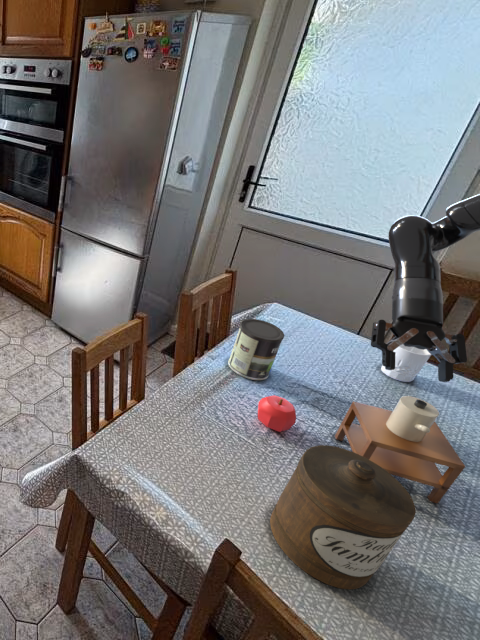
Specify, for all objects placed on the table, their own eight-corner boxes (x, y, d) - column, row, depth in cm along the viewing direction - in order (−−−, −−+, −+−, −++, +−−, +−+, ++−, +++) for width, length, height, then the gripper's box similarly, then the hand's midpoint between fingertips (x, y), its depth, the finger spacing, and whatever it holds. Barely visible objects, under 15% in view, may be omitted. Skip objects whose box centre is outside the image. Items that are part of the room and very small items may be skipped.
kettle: (381, 416, 90) (397, 389, 86) (415, 425, 88) (433, 397, 84) (396, 444, 83) (414, 416, 80) (433, 455, 81) (454, 425, 78)
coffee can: (271, 367, 121) (287, 327, 115) (264, 386, 114) (281, 345, 108) (232, 352, 127) (245, 314, 121) (223, 369, 120) (236, 329, 114)
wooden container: (314, 595, 70) (367, 514, 60) (251, 509, 83) (287, 432, 73) (393, 585, 71) (458, 504, 61) (319, 502, 84) (362, 425, 75)
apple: (260, 406, 107) (270, 383, 104) (296, 426, 102) (307, 402, 98) (247, 420, 103) (256, 396, 100) (283, 442, 97) (294, 417, 94)
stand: (411, 457, 93) (435, 421, 88) (437, 503, 84) (465, 466, 79) (334, 435, 99) (352, 401, 94) (350, 477, 89) (371, 440, 84)
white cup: (380, 376, 117) (395, 348, 112) (375, 361, 123) (390, 334, 118) (418, 387, 113) (436, 359, 108) (412, 371, 118) (428, 343, 114)
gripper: (384, 290, 90) (382, 363, 86) (474, 305, 84) (477, 384, 80) (366, 299, 96) (363, 368, 92) (448, 313, 91) (450, 387, 86)
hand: (416, 375), depth 86 cm, fingers open, 8 cm apart
